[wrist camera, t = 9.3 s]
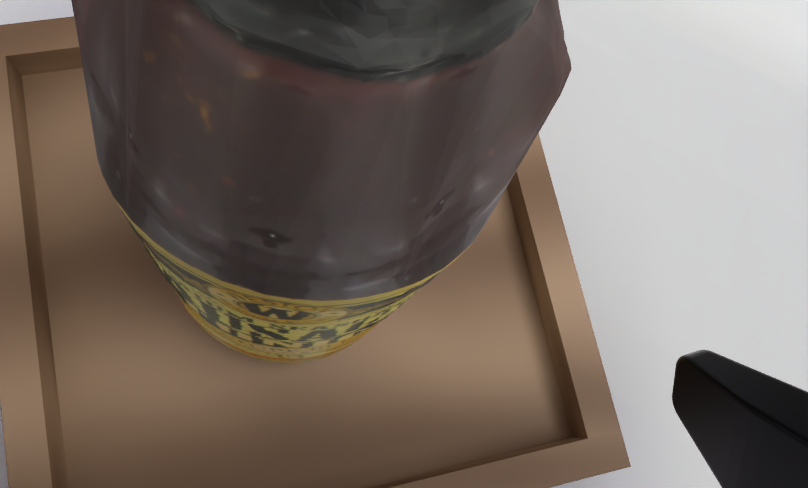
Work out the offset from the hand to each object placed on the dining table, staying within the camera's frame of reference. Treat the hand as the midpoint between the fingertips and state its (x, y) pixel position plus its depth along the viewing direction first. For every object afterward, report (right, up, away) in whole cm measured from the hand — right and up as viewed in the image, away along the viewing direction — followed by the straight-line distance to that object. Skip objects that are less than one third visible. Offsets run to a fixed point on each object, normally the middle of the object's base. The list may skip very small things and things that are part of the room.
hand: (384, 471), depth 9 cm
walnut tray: (-3, +3, +12) cm, 13 cm away
